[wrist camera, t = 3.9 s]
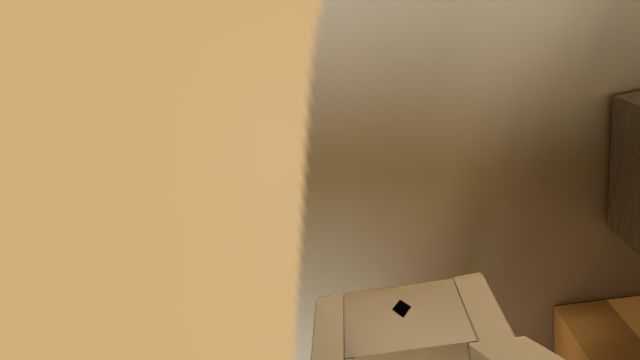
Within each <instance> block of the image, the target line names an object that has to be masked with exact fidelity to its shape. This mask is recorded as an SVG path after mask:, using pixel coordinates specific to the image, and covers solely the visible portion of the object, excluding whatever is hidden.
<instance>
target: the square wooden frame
mask: <svg viewBox="0 0 640 360" xmlns="http://www.w3.org/2000/svg"><path fill="white" fill-rule="evenodd" d="M554 353H555V354H557V355H559V356H560V357H562V358H564V359H565V360H640V296H634V297H626V298H618V299H609V300H601V301H593V302H585V303H577V304H569V305H561V306H554Z"/></svg>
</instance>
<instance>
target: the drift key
mask: <svg viewBox="0 0 640 360" xmlns="http://www.w3.org/2000/svg"><path fill="white" fill-rule="evenodd" d="M607 226H608V227H609V228H610V229H611V230H612V231H613V232H614V233H616V234H617V235H618V236H619V237H620V238H621V239H622V240H624V241H625V242H626V243H627V244H628V245H629V246H630V247H631V248H633V249H634V250H635V251H636V252H637V253H638V254H639V255H640V91H636V92H630V93H625V94H620V95H614V96H613V106H612V128H611V149H610V171H609V192H608V213H607Z"/></svg>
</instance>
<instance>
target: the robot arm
mask: <svg viewBox="0 0 640 360" xmlns="http://www.w3.org/2000/svg"><path fill="white" fill-rule="evenodd" d="M311 360H565V359H564V358H562V357H560V356H559V355H557V354H555V353H554V352H552V351H550V350H548V349H547V348H545V347H543V346H542V345H540V344H538V343H537V342H535V341H533V340H531V339H530V338H528V337H526V336H520V337H515V335H514V333H513V331H512V329H511V327H510V325H509V323H508V321H507V319H506V318H505V316H504V314H503V312H502V310H501V308H500V306H499V304H498V302H497V300H496V298H495V296H494V295H493V293H492V291H491V289H490V287H489V285H488V283H487V281H486V279H485V277H484V275H483V274H481V273H480V272H478V273H473V274H467V275H462V276H456V277H452V278H451V279H444V280H438V281H431V282H425V283H418V284H412V285H406V286H399V287H398V286H396V287H389V288H381V289H373V290H366V291H358V292H350V293H345V294H337V295H330V296H323V297H318V299H317V301H316V306H315V318H314V329H313V340H312V352H311Z"/></svg>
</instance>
